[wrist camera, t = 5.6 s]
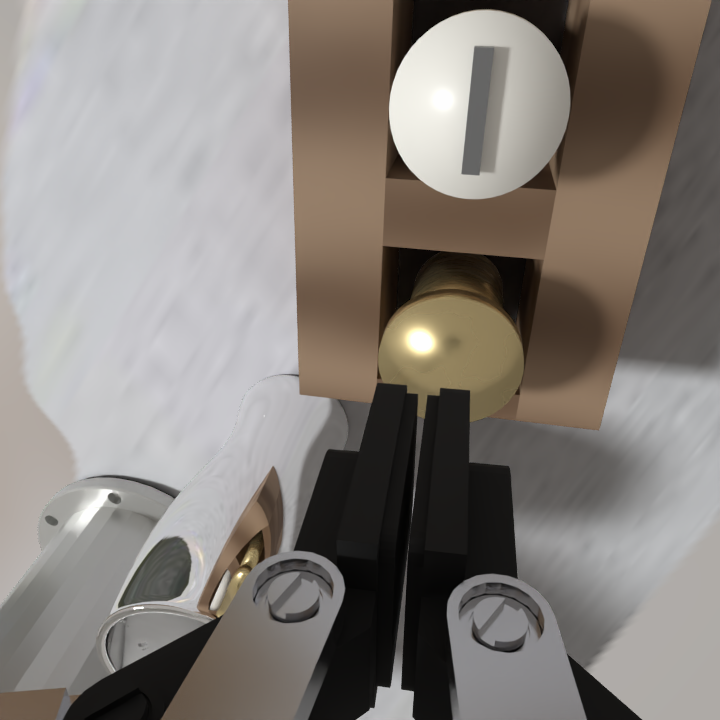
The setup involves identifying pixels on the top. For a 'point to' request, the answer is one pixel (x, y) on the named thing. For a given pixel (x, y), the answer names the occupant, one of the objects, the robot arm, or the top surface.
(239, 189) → the top surface
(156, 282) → the top surface
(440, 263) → the brass knob
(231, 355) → the top surface
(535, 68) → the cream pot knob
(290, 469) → the beer glass
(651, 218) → the block
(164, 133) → the top surface
